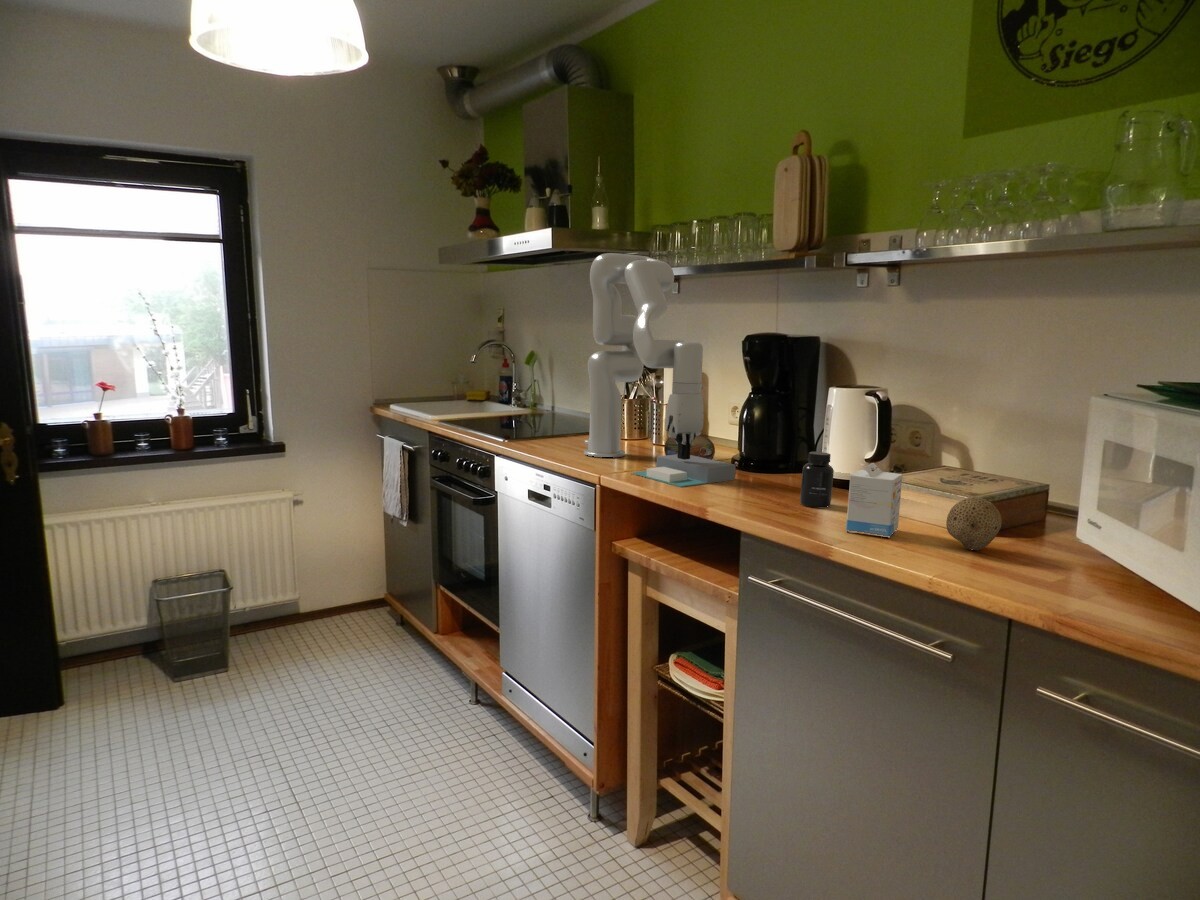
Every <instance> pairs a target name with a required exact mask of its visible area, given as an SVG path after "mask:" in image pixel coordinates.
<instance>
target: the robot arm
mask: <svg viewBox="0 0 1200 900" xmlns="http://www.w3.org/2000/svg"><path fill="white" fill-rule="evenodd" d="M674 281H675V273H674V270H673V268H672V267H671V266H670V264H668V262H666V261H663V260H659V259H655V258H652V257H649V256H644V255H637V254H627V253H626V254H625V253H619V252H618V253H616V252H607V253H601V254H600V255H598V256H596V257H595V258H594V260H593V261H592V263H591V266H590V270H589V284H590V288H591V293H592V302H593V303H592V335H593V339H594V342H595V343H596V344H597V345H600V346H604V347H622V349H621V350H599V351H596V352H594V353H592V354H591V355H590V357H589V358H588V360H587V372H588V378H589V379H588V381H589V390H590V391H589V393H590V394H589V432H588V433H589V438H587V439H585V440H584V445H587V448H586V449H584V450H583V454H584V455H585V456H587V455H588V457H592V456H594V458H602V457H613V458H621V457H624V456H625V455H626V451H625V450H624V449H621V435H622V434H621V431H622V430H621V429H622V400H623V399H622V394H621V392H620V390H619V388H618V386H617V384H616V383H632V382H633V383H634V382H636V381H638V380H639V379H641V377H642V375H643V372H644V366H645V367H646V368H650V369H672V384H671V385H672V386H671V387H672V388H671V393H670V394H669V395H668V400H667V405H666V411H665V419H664V420H665V421H664V429H665V431H666V432H668V433H667V436H668V438H670V437H671V438H674V439H675V440H676V443H678V455H677V457H678V458H680V459H684V460H686V459H690V447H691V444H692V443H693V440H694V438H695V437H697V436H698V437H700V435H701V434H702V430H703V427H704V421H705V420H704V417H705V415H704V411H705V410H704V400H703V395H702V390H703V388H704V386H703V384H702V379H703V377H702V376H703V361H704V360H703V358H704V347H703V345H702V343H700V342H698V341H684V340H679V339H654V336H653V334H652V332H651V328H650V323H651V322H653V321H655V320H656V319H657V320H658V319H659V318H660V317H662V316H663V315H664V314H665V313H666V311H667V310H668V307H669V304H668V301H667V298H666V296H665V294H664V292H668V291H670V290H671V288H672V287H673V285H674ZM615 284H620V285H621V284H622V285H627V288H628V291H629V293H630V295H631V298H632V301H633V304H634V306H635V309H636V311H637V316H636V315H633V314H623V312H622V309H623V308H622V307H623V306H622V304H623V302H622V297H621V293H620V292H619V290H618V288H617V287H616V286H615Z"/></svg>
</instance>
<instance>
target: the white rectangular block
mask: <svg viewBox="0 0 1200 900" xmlns="http://www.w3.org/2000/svg"><path fill="white" fill-rule="evenodd" d="M646 471H647V476H648V477H651V478H655V479H659V480H663V481H667V482H675V481H682V480H687V472H684V471H680V470H676V469H671V468H667V467H657V468H656V467H650V468H646Z"/></svg>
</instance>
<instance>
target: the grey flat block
mask: <svg viewBox="0 0 1200 900" xmlns="http://www.w3.org/2000/svg"><path fill="white" fill-rule="evenodd" d="M677 455H678V454H675V455H658V456H657V455H656V466H655V468H657V467H667V468H671V469H676V470H680V471H684V472H687V478H691V479H695V480H699V481H703V482H707V484H714V483H715V482H716V483H720V482H721V483H722V481H723V482H728V481H729V480H730V481H734V480H736V479H735V478H736V467H737V466H736V464H733V463H728V462H723V461H720V460H714V459H712V460H711V459H706V458H702V457H697V456H692V455H690V459H686V460H684V459H680V458H678V457H677ZM730 481H729V482H730ZM707 484H706V485H707Z"/></svg>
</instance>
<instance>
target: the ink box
mask: <svg viewBox="0 0 1200 900" xmlns="http://www.w3.org/2000/svg"><path fill="white" fill-rule="evenodd" d="M863 468H864V469H859V470H857V471H855V472H853V473H850V474H849V489H848V490H849V491H848V498H847V499H848V500H847V501H848V502H847V513H846V525H845V527H846V528H845V529H846V530H849V531H857V532H864V533H870V534H877V535H883V536H891V535H892V533H894V532H895V530H897V528H898V529H899V521H900V519H899V518H900V506H901V495H902V494H901V493H902V485H903V484H902V483H903V473H896V472H887V471H883V470H881V468H879V466H878V465H877V464H876V463H874V462H872V463H870V464H868V465H865V466H864V467H863ZM872 469H873V470H872ZM846 530H845V531H846ZM897 531H898V530H897ZM895 533H896V532H895ZM895 533H894V534H895ZM892 536H893V535H892ZM892 536H891V537H892Z"/></svg>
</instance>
